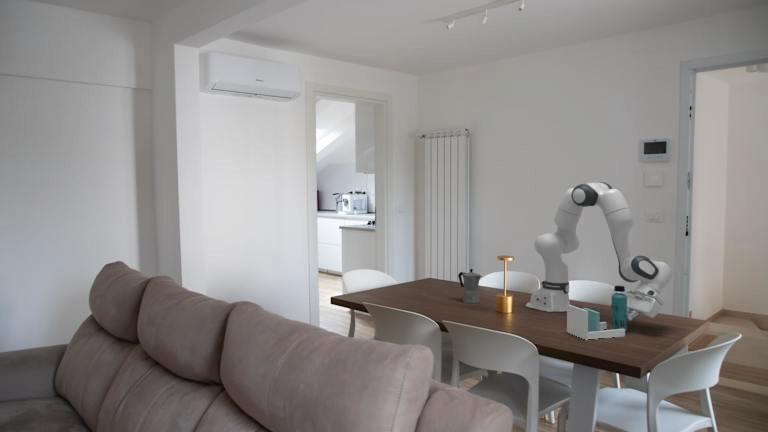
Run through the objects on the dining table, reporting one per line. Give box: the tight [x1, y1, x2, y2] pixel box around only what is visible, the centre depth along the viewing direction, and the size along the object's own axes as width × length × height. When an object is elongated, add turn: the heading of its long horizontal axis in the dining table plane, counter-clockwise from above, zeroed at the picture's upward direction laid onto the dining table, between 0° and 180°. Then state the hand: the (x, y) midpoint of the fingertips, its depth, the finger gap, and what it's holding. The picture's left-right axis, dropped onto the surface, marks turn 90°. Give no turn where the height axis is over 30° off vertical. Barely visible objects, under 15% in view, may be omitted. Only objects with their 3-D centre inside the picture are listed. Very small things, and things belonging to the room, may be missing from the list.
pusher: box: [582, 307, 601, 332], centre depth 222 cm, size 2×9×10 cm, turn 15°
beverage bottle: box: [610, 285, 628, 331], centre depth 225 cm, size 6×7×20 cm
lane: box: [566, 304, 626, 341], centre depth 222 cm, size 19×12×12 cm, turn 105°
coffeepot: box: [457, 268, 482, 304], centre depth 288 cm, size 15×9×18 cm, turn 44°
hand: (626, 318), depth 226 cm, fingers closed, pressing on beverage bottle
